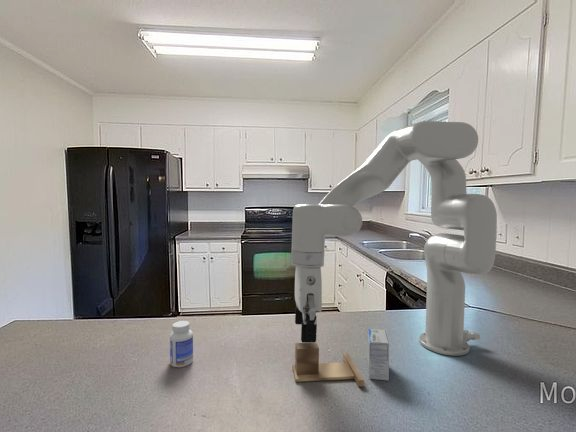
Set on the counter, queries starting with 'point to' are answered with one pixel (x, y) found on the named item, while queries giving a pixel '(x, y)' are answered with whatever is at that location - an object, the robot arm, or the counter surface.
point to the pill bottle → (181, 344)
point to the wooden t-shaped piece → (322, 366)
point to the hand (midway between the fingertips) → (304, 332)
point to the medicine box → (378, 354)
